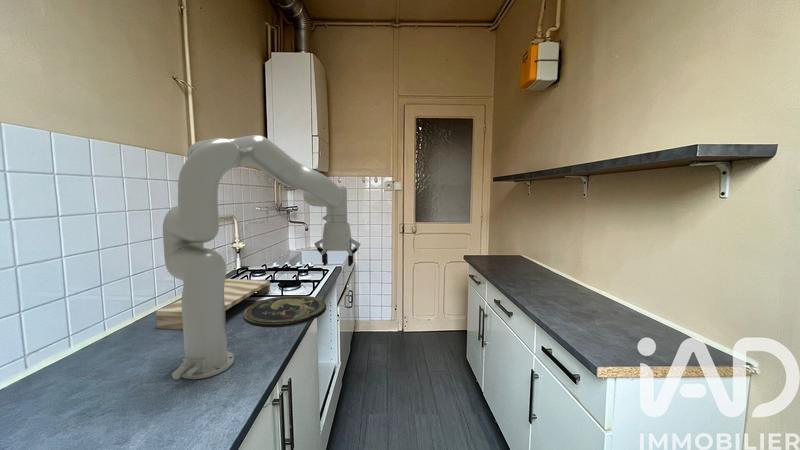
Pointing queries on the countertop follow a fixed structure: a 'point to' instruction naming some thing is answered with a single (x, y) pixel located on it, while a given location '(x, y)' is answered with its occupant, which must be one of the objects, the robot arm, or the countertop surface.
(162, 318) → the low shelf
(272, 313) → the decorative plate
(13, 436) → the countertop surface
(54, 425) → the countertop surface
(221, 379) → the countertop surface
